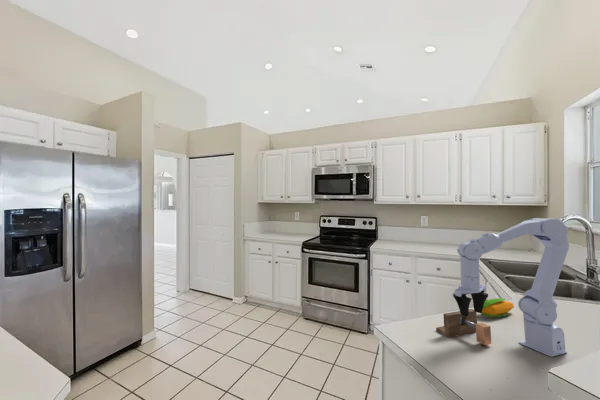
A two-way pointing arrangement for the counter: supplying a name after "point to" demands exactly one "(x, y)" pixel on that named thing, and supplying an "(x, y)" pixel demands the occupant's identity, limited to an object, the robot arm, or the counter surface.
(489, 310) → the corn
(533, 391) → the counter surface
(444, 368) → the counter surface
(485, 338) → the hook pin
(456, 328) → the slotted wooden block
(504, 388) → the counter surface
